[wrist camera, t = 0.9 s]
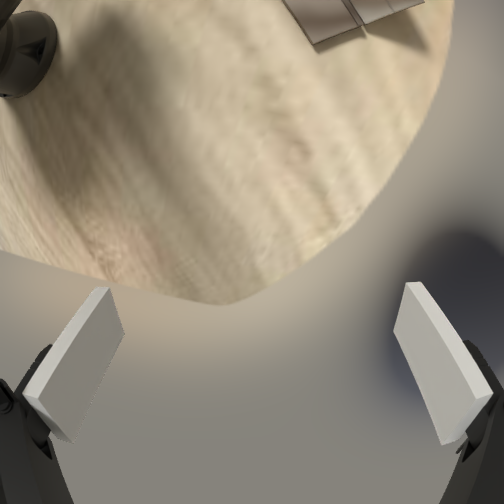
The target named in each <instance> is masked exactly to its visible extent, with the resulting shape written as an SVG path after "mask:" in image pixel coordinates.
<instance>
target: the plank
mask: <svg viewBox="0 0 504 504" xmlns="http://www.w3.org/2000/svg"><path fill="white" fill-rule="evenodd" d="M350 2H351V3H352V5H353V6H354V8H355V9H356V11H357V12H358V14H359V15H360V17H361V19H362V20H363V22H364V23H365V24H369V23H371V22H374V21H376V20H379V19H381V18H384V17H386V16H389V15H391V14H394V13H397V12H399V11H402V10H405V9H407V8H410V7H413V6H416V5H419V4H422V3H425V2H424V0H350Z"/></svg>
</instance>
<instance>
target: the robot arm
mask: <svg viewBox="0 0 504 504" xmlns="http://www.w3.org/2000/svg"><path fill="white" fill-rule="evenodd" d="M21 1H22V0H0V97H3V98H14V97H21V96H23V95H25V94H27V93H29V92H30V91H31V90H33V89H34V88H35V87H36V86H37V85H38V83H39V82H40V81H41V80H42V78H43V77H44V75H45V74H46V72H47V70H48V68H49V66H50V64H51V61H52V59H53V55H54V52H55V47H56V28H55V24H54V22H53V20H52V19H51V18H50V16H48V15H47V14H45V13H42V12H38V11H25V12H21V13H17V14H12V13H13V12H14V11H15V9H16V8H17V6H18V5H19V4H20V2H21ZM394 333H395V335H396V337H397V339H398V342H399V344H400V346H401V348H402V350H403V352H404V355H405V357H406V359H407V361H408V364H409V366H410V368H411V370H412V372H413V375H414V377H415V379H416V382H417V384H418V386H419V389H420V391H421V394H422V396H423V398H424V401H425V403H426V406H427V408H428V411H429V413H430V416H431V418H432V421H433V423H434V426H435V429H436V432H437V434H438V437H439V440H440V442H441V445H444V444H447V443H450V442H453V441H457V440H458V439H459V438H460V437H461V436H462V435H463V433H464V432H465V431H466V433H467V436H468V438H467V439H466V441H465V442H464V443H463V444H462V445H461V446H460V448H458V450H457V451H456V453H457V454H458V453H459V452H460V451H461V450H462V451H461V454H460V457H459V459H458V462H457V465H456V467H455V470H454V472H453V475H452V477H451V479H450V481H449V484H448V486H447V488H446V491H445V493H444V495H443V497H442V499H441V501H440V503H439V504H504V390H503V388H502V386H501V384H500V383H499V381H498V379H497V378H496V376H495V374H494V373H493V371H492V370H491V368H490V367H489V366H488V363H487V362H486V360H485V359H483V355H482V354H481V353H480V351H479V349H478V348H477V347H476V346H475V345H474V344H473V343H471V342H470V341H469V340H466V341H462V340H461V339H460V337H459V336H458V334H457V333H456V331H455V330H454V328H453V327H452V325H451V324H450V322H449V321H448V319H447V318H446V316H445V315H444V313H443V312H442V311H441V309H440V308H439V306H438V305H437V304H436V302H435V301H434V299H433V298H432V297H431V295H430V294H429V292H428V291H427V290H426V289H425V287H424V286H423V284H422V283H421V282H410V283H406V286H405V290H404V294H403V298H402V302H401V306H400V309H399V313H398V317H397V320H396V324H395V327H394ZM124 334H125V333H124V330H123V328H122V325H121V322H120V319H119V316H118V312H117V310H116V306H115V303H114V300H113V297H112V293H111V290H110V287H95V289H94V290H93V291H92V293H91V294H90V295H89V297H88V298H87V299H86V300H85V302H84V303H83V304H82V306H81V307H80V309H79V310H78V311H77V312H76V314H75V315H74V316H73V318H72V319H71V321H70V322H69V323H68V325H67V326H66V328H65V329H64V330H63V332H62V333H61V335H60V336H59V337H58V339H57V340H56V342H55V343H54V345H51V344H50V345H48V346H47V347H46V348H45V349H43V350H42V351H41V352H40V353H39V355H38V356H37V358H36V359H35V362H33V364H32V365H31V367H30V369H29V370H28V371H27V373H26V374H25V376H24V377H23V379H22V381H21V382H20V384H19V385H18V387H17V388H16V390H15V392H14V393H13V391H12V390H11V389H10V387H9V386H8V384H7V383H6V382H5V381H4V380H3V379H0V504H74V503H73V500H72V498H71V495H70V493H69V491H68V488H67V486H66V483H65V480H64V477H63V475H62V472H61V469H60V466H59V464H58V461H57V457H56V455H55V451H54V448H53V444H52V441H51V440H50V438H49V437H48V436H49V433H50V431H52V433H53V434H54V435H55V436H56V437H57V438H58V439H60V440H63V441H66V442H69V443H72V444H74V441H75V439H76V437H77V434H78V432H79V429H80V427H81V425H82V423H83V420H84V418H85V416H86V414H87V411H88V409H89V407H90V405H91V402H92V400H93V398H94V396H95V394H96V392H97V389H98V387H99V385H100V383H101V381H102V379H103V377H104V375H105V372H106V370H107V368H108V366H109V364H110V362H111V360H112V358H113V356H114V354H115V352H116V350H117V348H118V346H119V344H120V342H121V340H122V338H123V336H124Z"/></svg>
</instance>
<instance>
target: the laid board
mask: <svg viewBox="0 0 504 504" xmlns="http://www.w3.org/2000/svg"><path fill="white" fill-rule="evenodd" d="M282 1H283V3H284V4H285V5H286V7H287V8H288V10H289V11H290V12H291V14H292V15H293V17H294V18H295V20H296V21H297V23H298V24H299V26H300V27H301V29H302V30H303V32H304V33H305V35H306V36H307V38H308V39H309V41H310V43H311V44H312V45H314V44H316V43H319V42H321V41H324V40H326V39H329V38H331V37H334V36H336V35H339V34H341V33H344V32H347V31H350V30H352V29H355V28H358V27H361V26H362V25H363V24H364V23H363V22H362V20H361V18H360V17H359V15H358V14H357V12H356V11H355V9H354V8H353V6H352V5H351V3H350V2H349V0H282Z"/></svg>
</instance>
